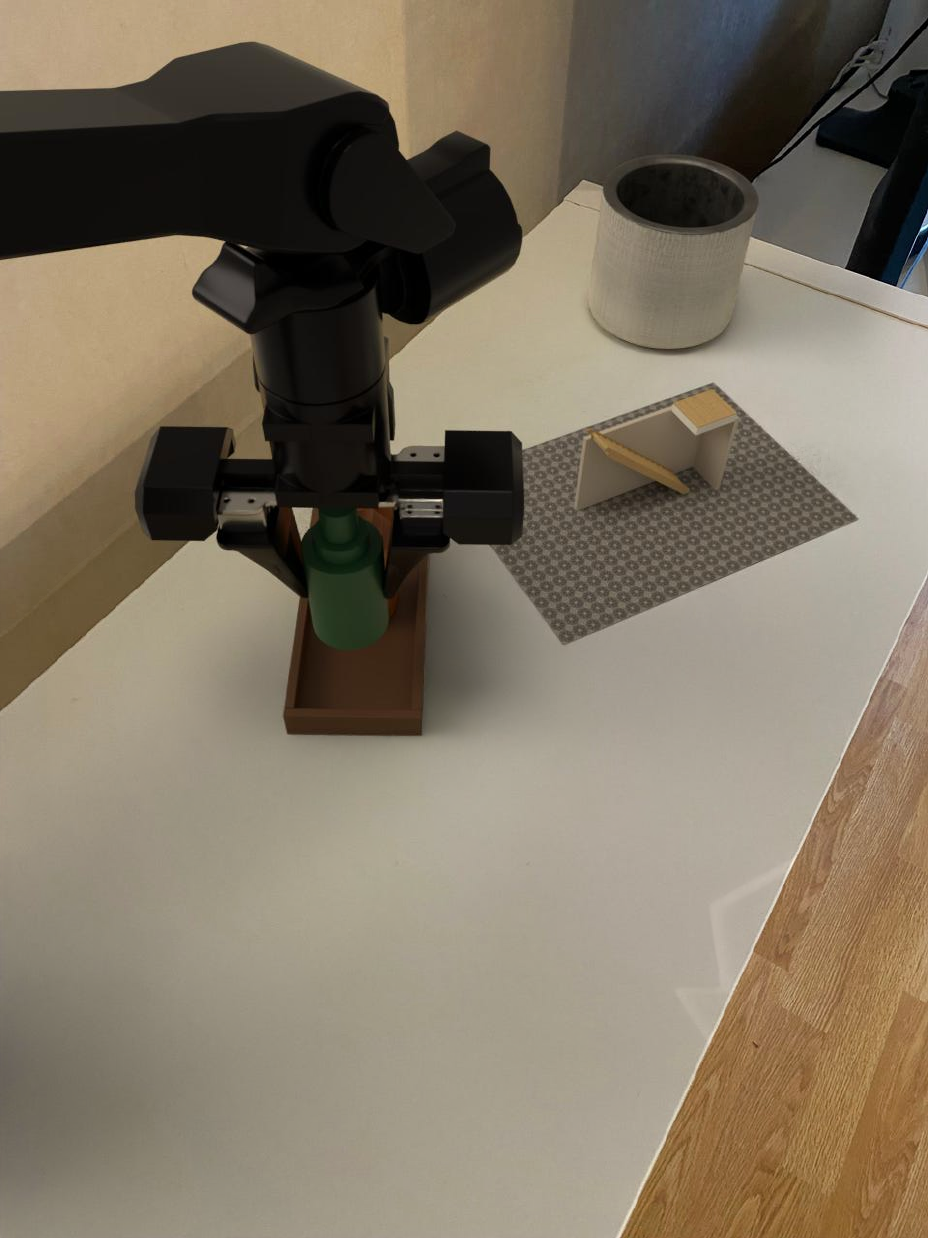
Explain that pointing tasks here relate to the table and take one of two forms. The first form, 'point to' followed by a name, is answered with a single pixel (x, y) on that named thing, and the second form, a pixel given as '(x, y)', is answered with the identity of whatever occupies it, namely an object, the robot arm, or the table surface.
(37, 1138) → the table surface
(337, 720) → the tray
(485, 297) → the table surface
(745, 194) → the planter
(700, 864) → the table surface
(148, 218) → the robot arm
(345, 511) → the green bottle
